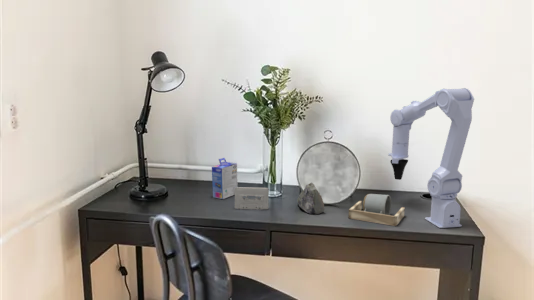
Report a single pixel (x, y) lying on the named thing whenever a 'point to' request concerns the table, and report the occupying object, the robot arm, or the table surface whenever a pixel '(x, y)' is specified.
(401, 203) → the table surface
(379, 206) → the ceramic mug
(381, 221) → the bracket
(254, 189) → the cassette
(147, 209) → the table surface
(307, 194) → the mineral rock
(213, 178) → the ink cartridge box
